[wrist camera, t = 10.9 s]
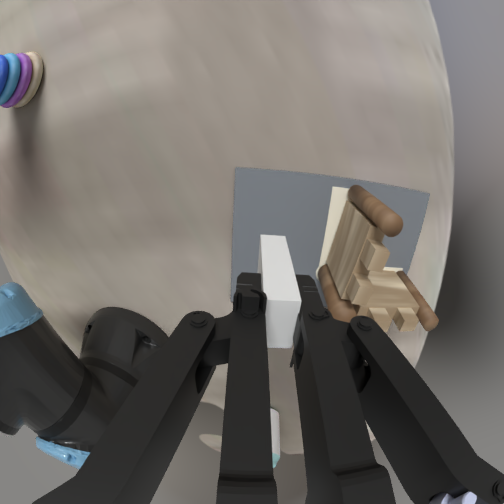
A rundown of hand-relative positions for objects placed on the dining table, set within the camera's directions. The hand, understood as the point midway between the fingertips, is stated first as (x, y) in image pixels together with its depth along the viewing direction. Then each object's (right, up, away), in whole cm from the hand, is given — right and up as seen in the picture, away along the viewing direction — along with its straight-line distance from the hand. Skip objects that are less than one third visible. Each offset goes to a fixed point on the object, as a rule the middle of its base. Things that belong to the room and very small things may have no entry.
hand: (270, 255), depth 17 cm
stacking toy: (-31, +23, +3) cm, 39 cm away
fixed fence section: (+12, -2, +14) cm, 19 cm away
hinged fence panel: (+9, +3, +11) cm, 14 cm away
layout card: (+8, +1, +13) cm, 15 cm away
